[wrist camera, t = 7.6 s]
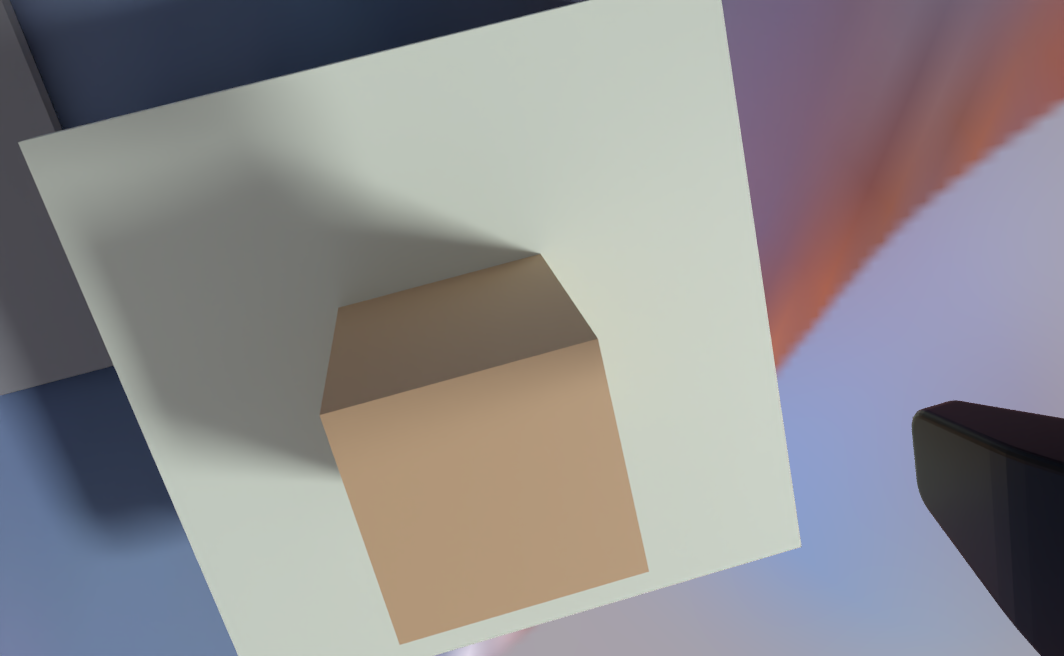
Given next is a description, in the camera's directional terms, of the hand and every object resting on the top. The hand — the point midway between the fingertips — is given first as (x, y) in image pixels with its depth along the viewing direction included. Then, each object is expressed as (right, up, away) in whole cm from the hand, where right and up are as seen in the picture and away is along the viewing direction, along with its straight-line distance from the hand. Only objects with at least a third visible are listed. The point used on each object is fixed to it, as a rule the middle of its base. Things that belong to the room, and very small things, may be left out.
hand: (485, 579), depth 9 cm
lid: (-1, +2, +8) cm, 8 cm away
